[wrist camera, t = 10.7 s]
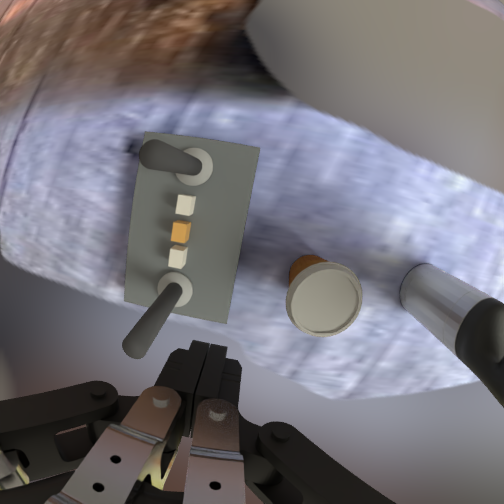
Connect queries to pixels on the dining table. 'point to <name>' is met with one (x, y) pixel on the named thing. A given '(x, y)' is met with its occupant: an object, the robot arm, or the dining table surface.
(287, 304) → the disposable coffee cup
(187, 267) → the panel
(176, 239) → the orange small block
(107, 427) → the robot arm
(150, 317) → the cable post
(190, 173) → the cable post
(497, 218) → the dining table surface
